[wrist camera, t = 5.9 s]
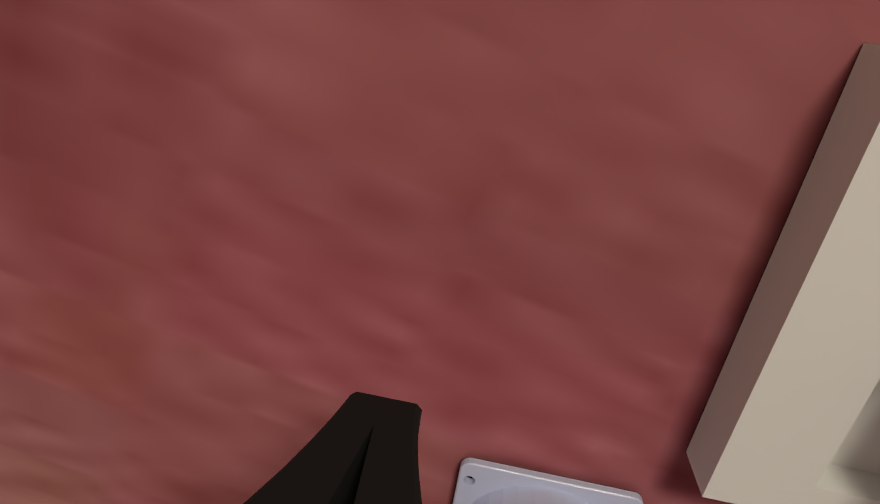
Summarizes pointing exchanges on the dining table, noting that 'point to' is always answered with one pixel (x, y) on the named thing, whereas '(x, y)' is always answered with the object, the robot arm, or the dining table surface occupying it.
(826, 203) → the breaker housing
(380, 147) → the dining table surface
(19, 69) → the dining table surface
